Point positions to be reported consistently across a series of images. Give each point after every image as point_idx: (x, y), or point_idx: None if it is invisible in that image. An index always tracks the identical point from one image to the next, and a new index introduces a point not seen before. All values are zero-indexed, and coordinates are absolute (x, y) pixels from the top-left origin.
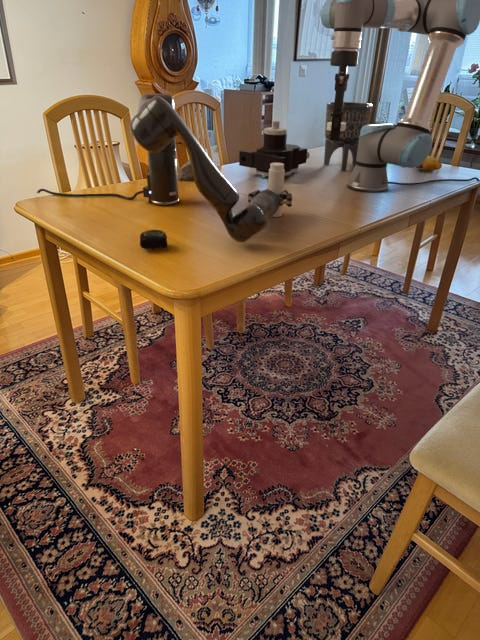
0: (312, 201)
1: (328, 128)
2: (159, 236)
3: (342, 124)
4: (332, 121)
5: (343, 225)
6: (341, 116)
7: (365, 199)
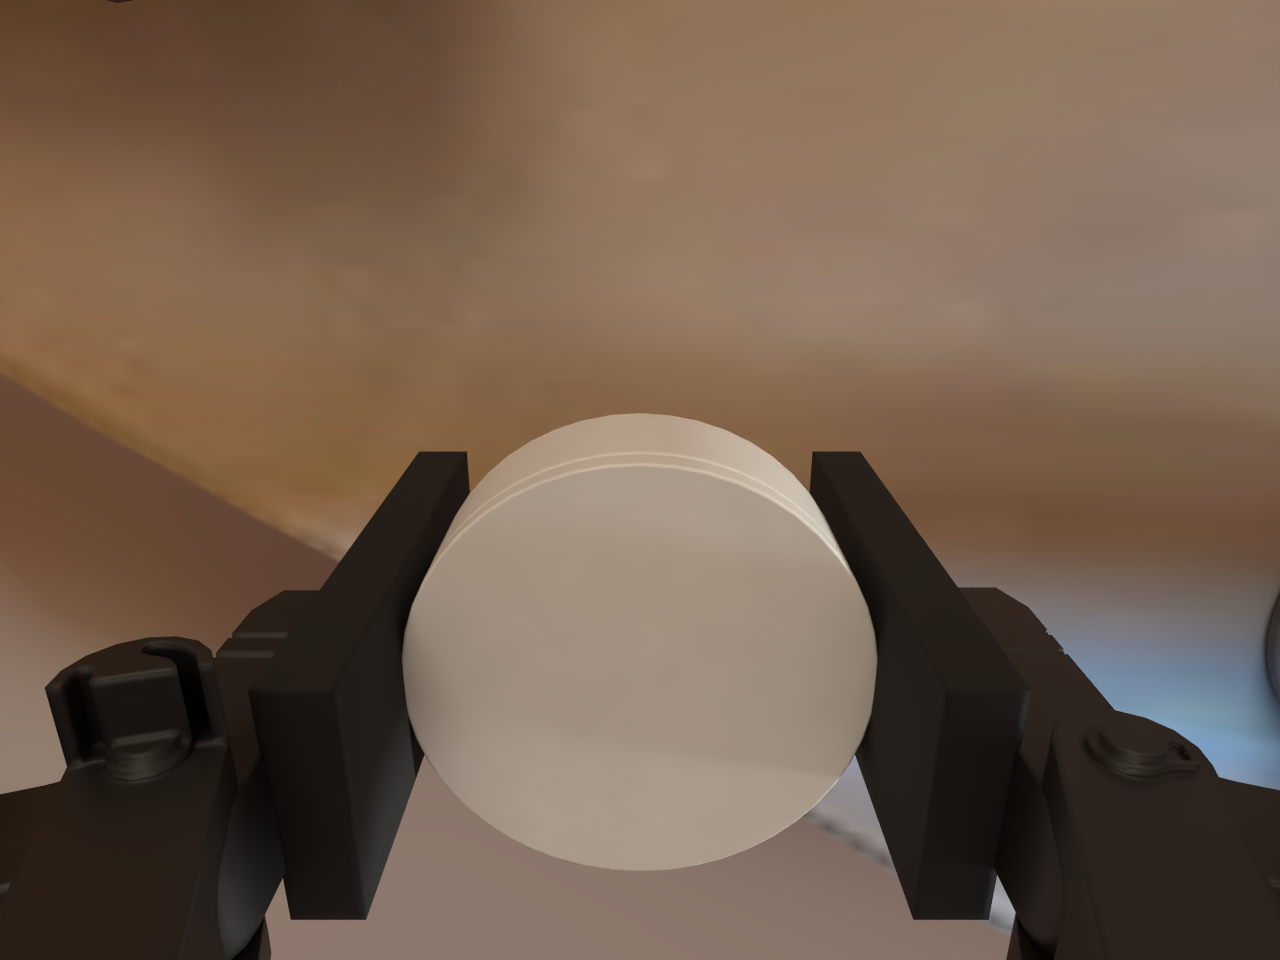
0: (919, 162)
1: (497, 468)
2: None
3: (466, 803)
4: (306, 629)
5: (328, 440)
6: (899, 868)
7: (1051, 591)
